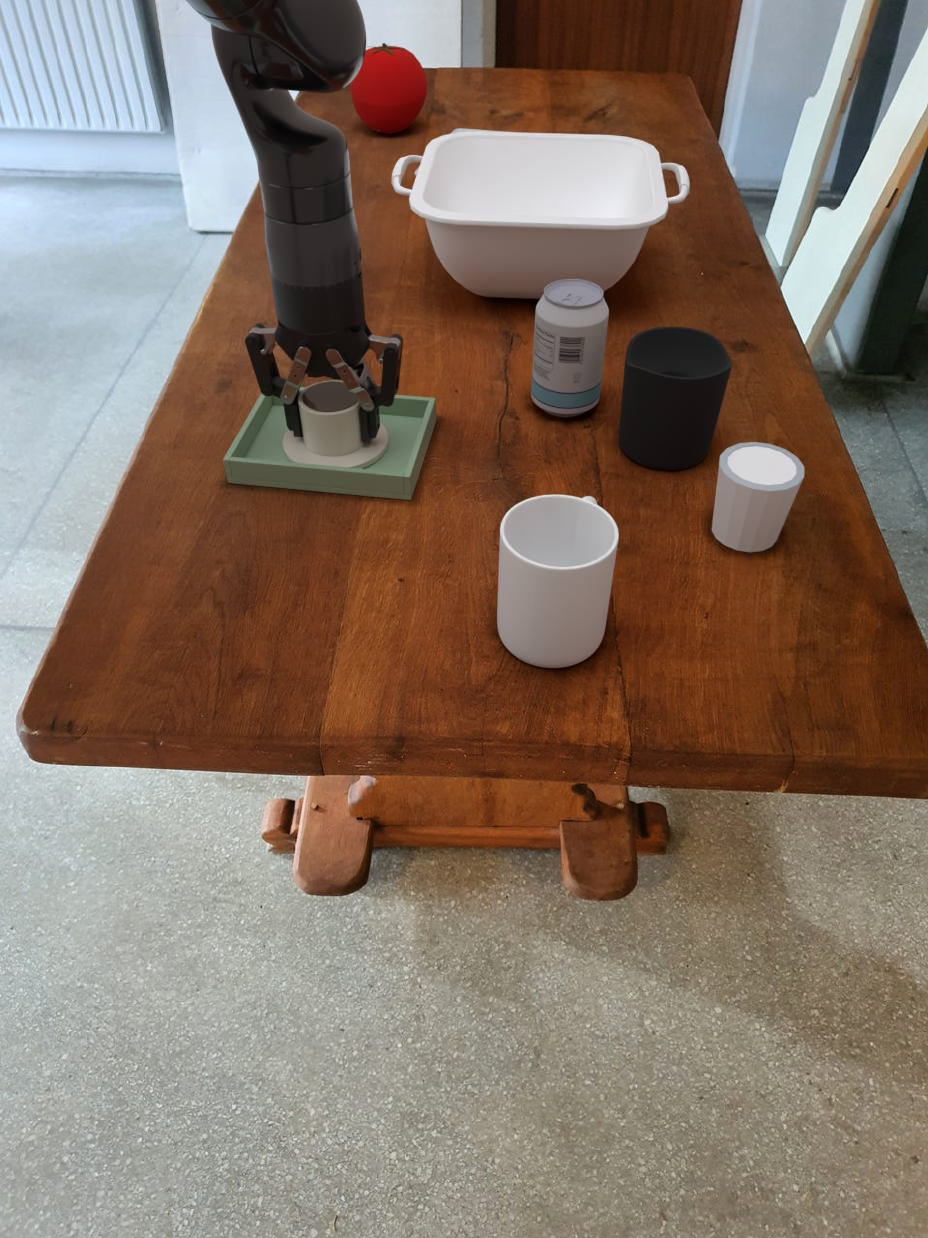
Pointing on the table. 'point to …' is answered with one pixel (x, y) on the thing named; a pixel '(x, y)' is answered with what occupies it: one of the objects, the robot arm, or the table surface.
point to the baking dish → (537, 206)
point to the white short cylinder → (754, 495)
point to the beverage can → (569, 347)
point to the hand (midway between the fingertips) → (334, 435)
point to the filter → (332, 429)
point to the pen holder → (672, 396)
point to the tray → (389, 477)
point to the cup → (555, 578)
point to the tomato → (389, 89)
